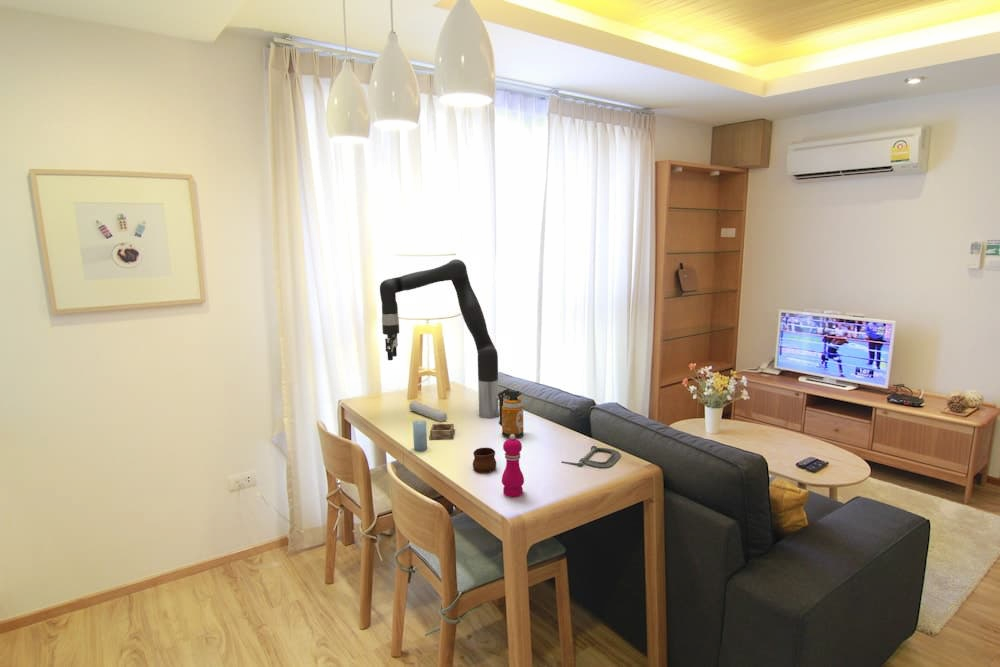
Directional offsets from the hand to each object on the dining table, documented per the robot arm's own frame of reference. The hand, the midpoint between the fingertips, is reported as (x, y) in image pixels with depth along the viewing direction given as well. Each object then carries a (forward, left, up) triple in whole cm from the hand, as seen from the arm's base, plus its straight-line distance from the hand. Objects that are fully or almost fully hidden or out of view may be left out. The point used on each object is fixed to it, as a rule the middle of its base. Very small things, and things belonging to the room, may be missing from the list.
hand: (392, 358), depth 253 cm
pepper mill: (-54, +80, -29) cm, 100 cm away
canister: (-54, +26, -29) cm, 66 cm away
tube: (-15, -2, -29) cm, 33 cm away
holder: (-25, +25, -29) cm, 45 cm away
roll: (-18, +40, -29) cm, 52 cm away
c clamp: (-85, +52, -29) cm, 104 cm away
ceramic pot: (-44, +60, -29) cm, 80 cm away
